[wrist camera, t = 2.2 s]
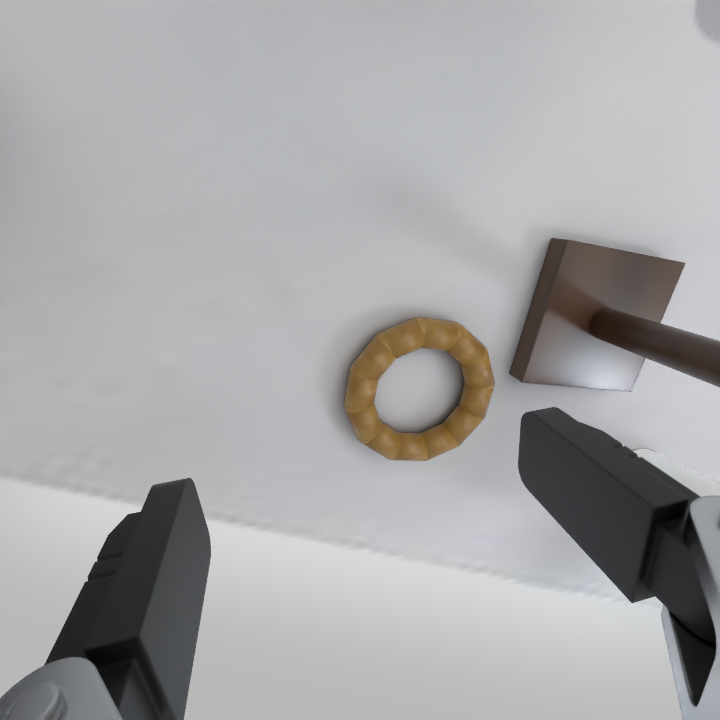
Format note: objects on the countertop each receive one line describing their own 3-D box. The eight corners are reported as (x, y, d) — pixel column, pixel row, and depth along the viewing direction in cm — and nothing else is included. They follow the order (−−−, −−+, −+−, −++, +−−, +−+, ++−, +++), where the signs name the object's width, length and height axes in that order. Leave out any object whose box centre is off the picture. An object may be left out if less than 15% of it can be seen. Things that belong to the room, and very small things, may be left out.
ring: (332, 448, 26) (337, 464, 25) (357, 306, 23) (364, 313, 22) (463, 452, 29) (475, 467, 27) (500, 324, 26) (516, 332, 24)
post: (509, 373, 27) (707, 510, 15) (551, 237, 25) (838, 269, 12) (614, 383, 30) (861, 508, 17) (664, 260, 27) (1002, 305, 15)
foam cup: (621, 539, 36) (793, 700, 24) (559, 502, 33) (723, 669, 21) (697, 459, 35) (920, 591, 23) (639, 412, 31) (867, 538, 19)
